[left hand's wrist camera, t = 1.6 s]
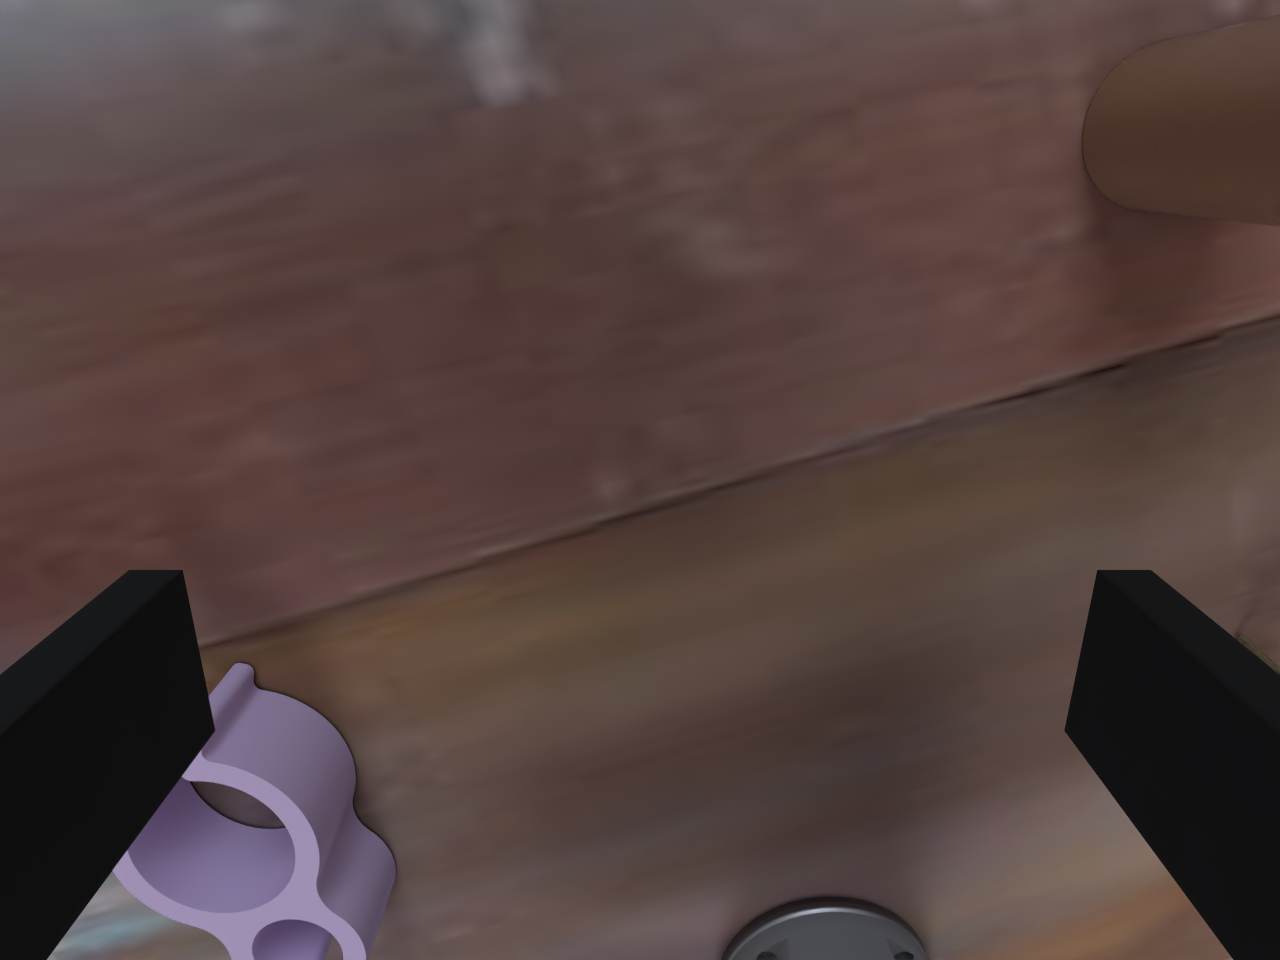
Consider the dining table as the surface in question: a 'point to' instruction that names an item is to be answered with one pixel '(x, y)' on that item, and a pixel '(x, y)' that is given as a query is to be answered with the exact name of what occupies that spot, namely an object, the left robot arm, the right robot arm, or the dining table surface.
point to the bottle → (1193, 126)
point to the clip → (266, 837)
